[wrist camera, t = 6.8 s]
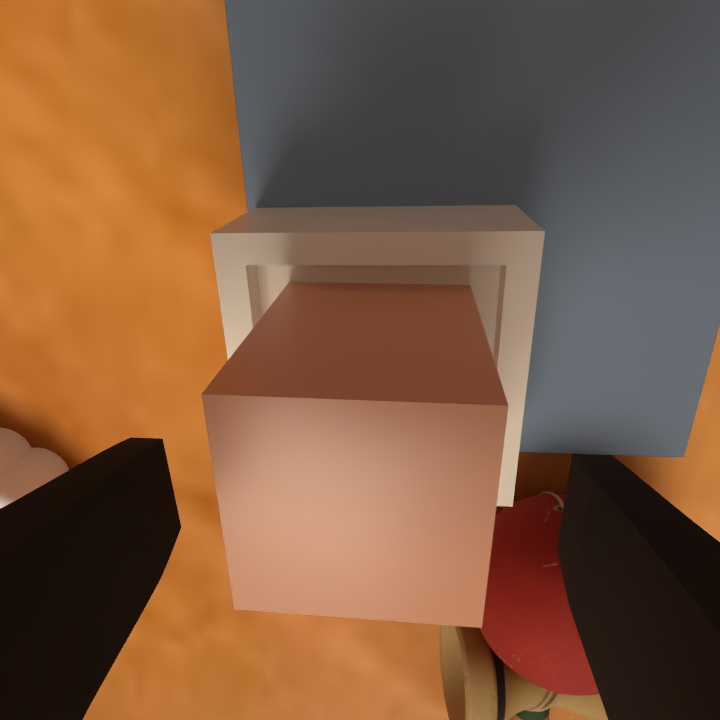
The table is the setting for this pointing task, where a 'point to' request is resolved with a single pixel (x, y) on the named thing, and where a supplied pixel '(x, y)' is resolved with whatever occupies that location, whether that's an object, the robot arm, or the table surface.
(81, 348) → the table surface
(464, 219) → the base block
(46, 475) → the mooncake
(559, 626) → the kendama
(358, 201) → the mat
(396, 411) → the terracotta block
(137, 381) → the table surface
